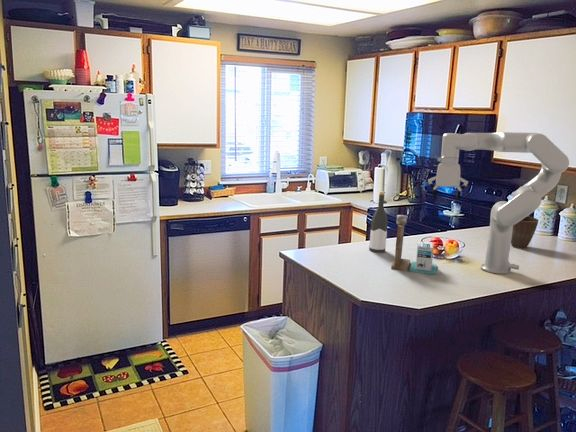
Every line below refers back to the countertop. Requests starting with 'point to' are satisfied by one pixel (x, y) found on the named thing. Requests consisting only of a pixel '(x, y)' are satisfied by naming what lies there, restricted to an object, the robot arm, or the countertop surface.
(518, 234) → the plant pot
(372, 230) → the wine bottle
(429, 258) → the light bulb box
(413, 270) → the mat
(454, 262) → the countertop surface
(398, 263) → the wooden stand
